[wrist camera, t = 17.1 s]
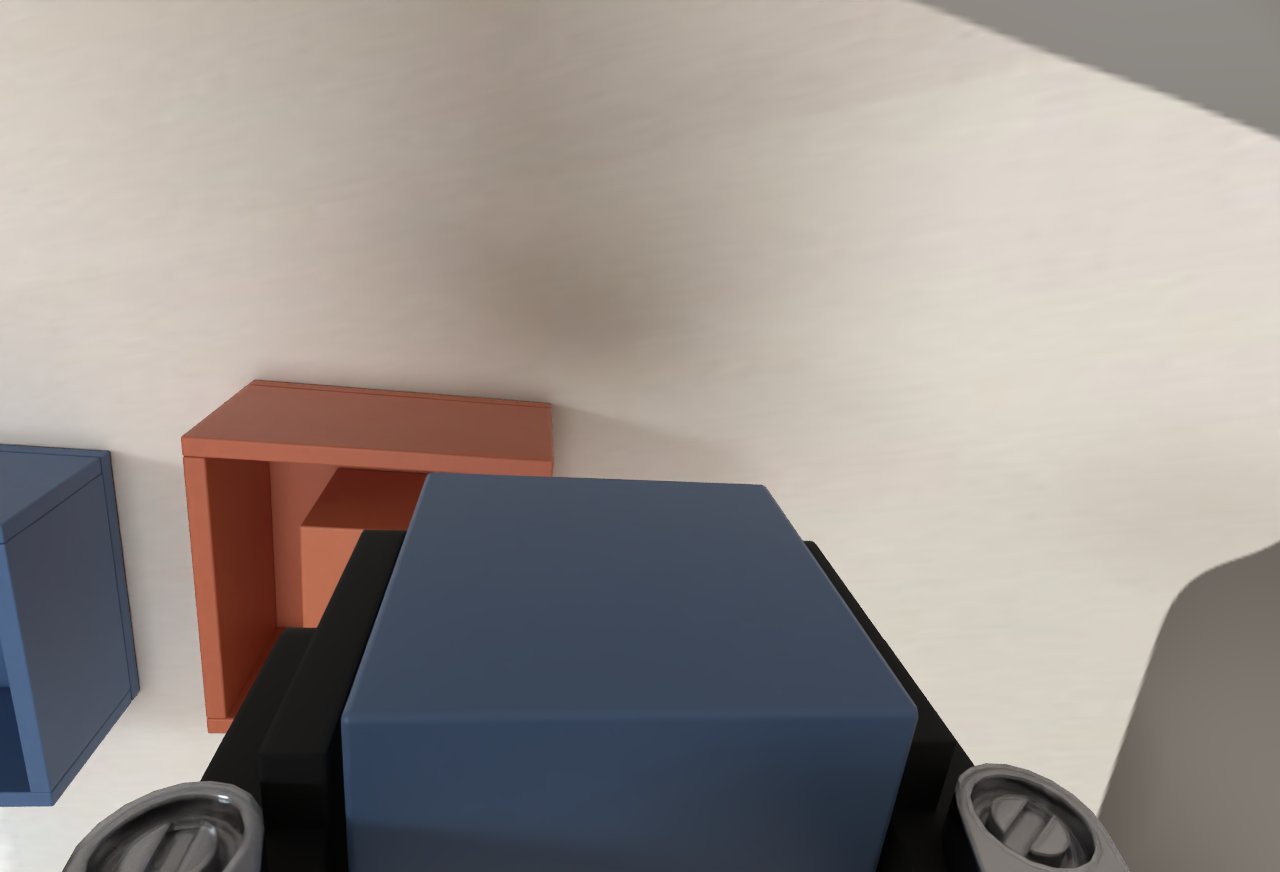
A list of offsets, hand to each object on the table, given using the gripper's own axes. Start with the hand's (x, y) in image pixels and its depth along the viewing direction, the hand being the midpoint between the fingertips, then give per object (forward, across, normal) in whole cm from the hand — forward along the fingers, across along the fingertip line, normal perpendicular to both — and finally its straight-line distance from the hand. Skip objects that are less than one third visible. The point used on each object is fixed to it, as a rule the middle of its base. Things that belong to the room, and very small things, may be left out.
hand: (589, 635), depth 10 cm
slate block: (0, 0, 0) cm, 0 cm away
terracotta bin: (+17, +5, +7) cm, 20 cm away
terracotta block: (+17, +5, +7) cm, 19 cm away
